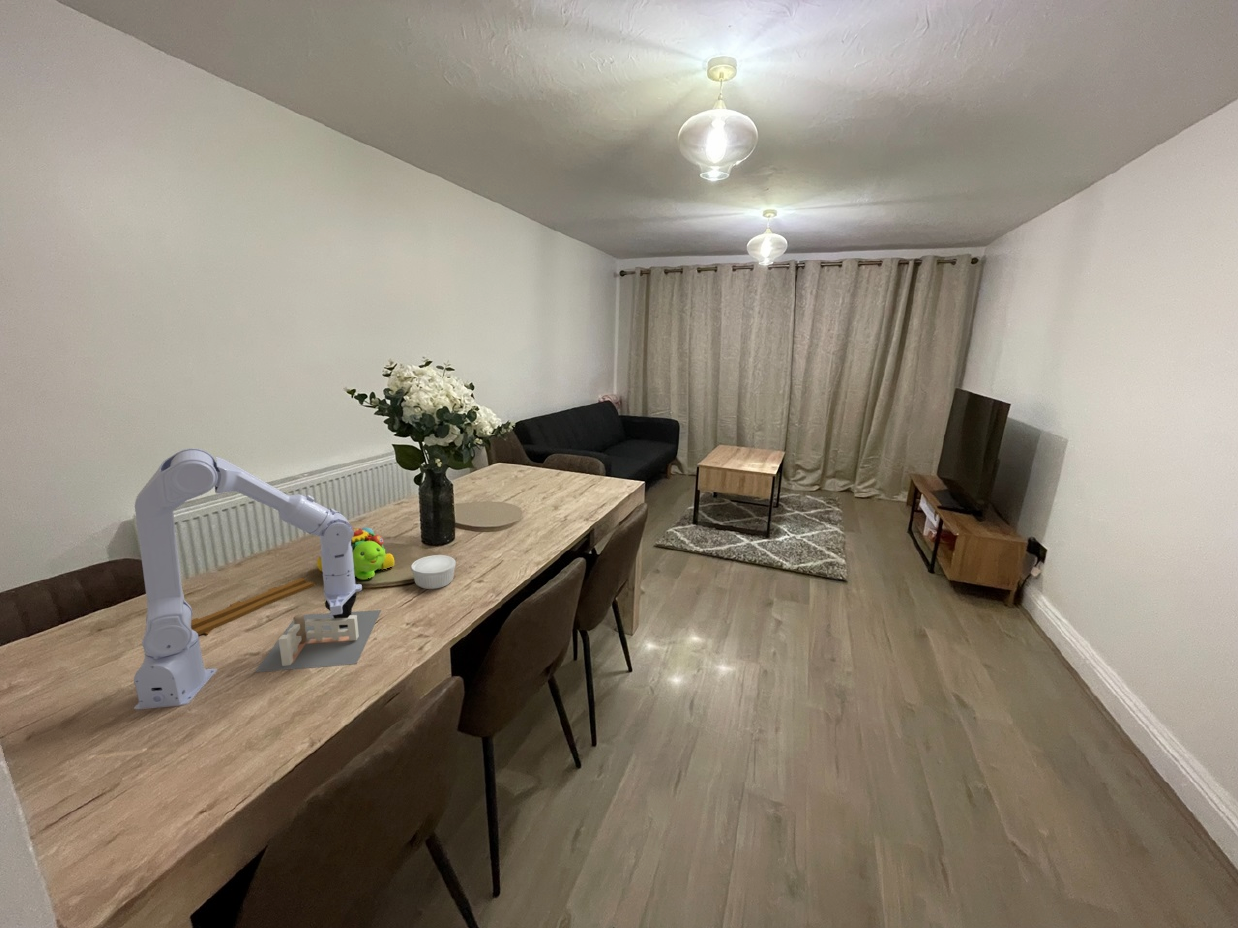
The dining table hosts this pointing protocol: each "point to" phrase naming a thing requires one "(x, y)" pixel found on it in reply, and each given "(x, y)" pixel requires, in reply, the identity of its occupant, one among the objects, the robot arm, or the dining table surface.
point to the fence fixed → (292, 640)
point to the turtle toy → (367, 553)
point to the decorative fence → (248, 606)
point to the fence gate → (333, 628)
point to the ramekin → (433, 571)
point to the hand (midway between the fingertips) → (344, 626)
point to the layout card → (324, 646)
